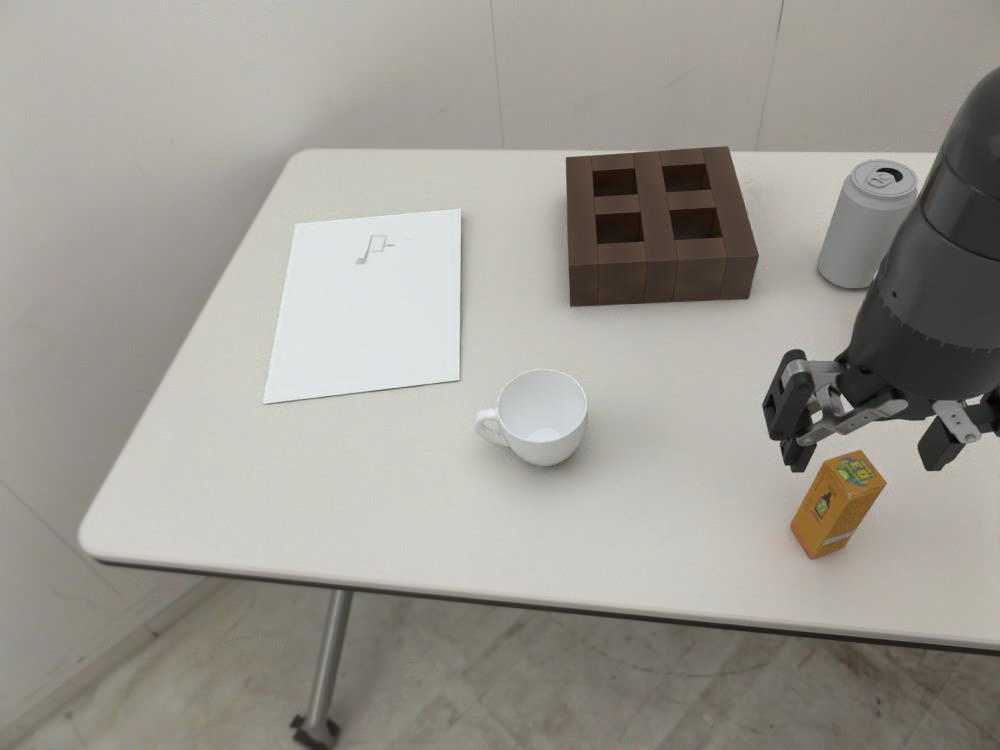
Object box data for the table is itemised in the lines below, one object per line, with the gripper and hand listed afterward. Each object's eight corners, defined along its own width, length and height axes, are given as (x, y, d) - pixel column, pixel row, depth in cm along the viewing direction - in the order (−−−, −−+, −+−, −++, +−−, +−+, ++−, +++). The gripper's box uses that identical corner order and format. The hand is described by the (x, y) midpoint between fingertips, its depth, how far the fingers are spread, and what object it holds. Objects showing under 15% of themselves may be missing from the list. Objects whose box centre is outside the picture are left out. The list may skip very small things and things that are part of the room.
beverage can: (894, 273, 72) (938, 177, 62) (852, 302, 70) (892, 207, 61) (842, 243, 75) (877, 147, 66) (802, 269, 74) (832, 175, 64)
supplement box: (849, 547, 54) (892, 485, 47) (810, 561, 54) (846, 501, 46) (825, 511, 56) (862, 446, 49) (786, 524, 56) (818, 460, 48)
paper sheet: (482, 213, 85) (481, 206, 84) (457, 408, 68) (455, 402, 67) (300, 219, 88) (297, 213, 87) (233, 408, 71) (229, 402, 70)
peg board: (721, 189, 83) (728, 145, 79) (748, 298, 72) (759, 255, 67) (567, 198, 85) (565, 156, 81) (570, 306, 74) (568, 265, 69)
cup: (591, 481, 60) (590, 440, 55) (478, 486, 61) (467, 445, 56) (585, 410, 65) (584, 365, 60) (481, 415, 66) (471, 371, 61)
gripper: (830, 349, 32) (761, 512, 45) (1165, 339, 30) (995, 510, 43) (794, 242, 37) (740, 417, 49) (1083, 229, 35) (952, 412, 48)
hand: (860, 460), depth 46 cm, fingers open, 8 cm apart
